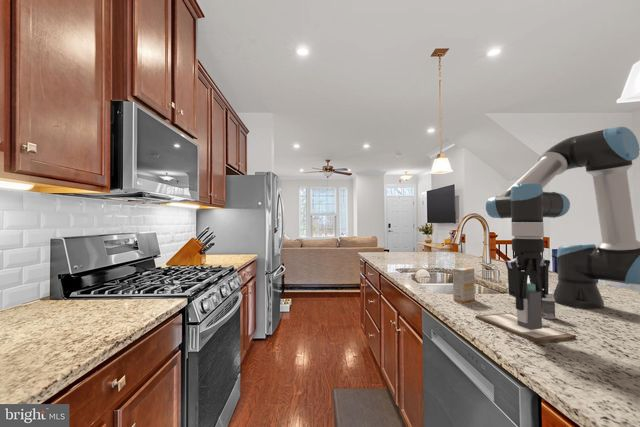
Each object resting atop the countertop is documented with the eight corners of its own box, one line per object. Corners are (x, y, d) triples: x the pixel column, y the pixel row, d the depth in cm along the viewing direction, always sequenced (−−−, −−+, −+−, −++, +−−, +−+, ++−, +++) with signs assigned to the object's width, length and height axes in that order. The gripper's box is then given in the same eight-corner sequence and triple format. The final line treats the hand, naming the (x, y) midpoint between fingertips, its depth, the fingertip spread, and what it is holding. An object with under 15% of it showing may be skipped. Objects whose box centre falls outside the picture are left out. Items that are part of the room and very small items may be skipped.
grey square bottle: (528, 323, 87) (527, 282, 87) (542, 328, 83) (540, 284, 83) (517, 325, 86) (516, 282, 86) (530, 329, 82) (529, 285, 82)
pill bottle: (558, 319, 98) (557, 293, 99) (542, 318, 99) (541, 293, 100) (550, 315, 103) (549, 290, 103) (535, 314, 104) (534, 290, 104)
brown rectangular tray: (507, 315, 103) (507, 310, 103) (575, 338, 82) (575, 333, 82) (475, 318, 100) (475, 313, 100) (538, 343, 79) (538, 338, 79)
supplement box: (464, 297, 128) (463, 266, 128) (475, 300, 124) (474, 268, 124) (452, 300, 124) (452, 268, 124) (463, 302, 119) (462, 269, 120)
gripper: (538, 236, 91) (540, 314, 90) (491, 237, 87) (493, 319, 86) (563, 238, 84) (566, 322, 83) (514, 238, 80) (516, 328, 79)
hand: (529, 320), depth 85 cm, fingers closed on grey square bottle, 4 cm apart
